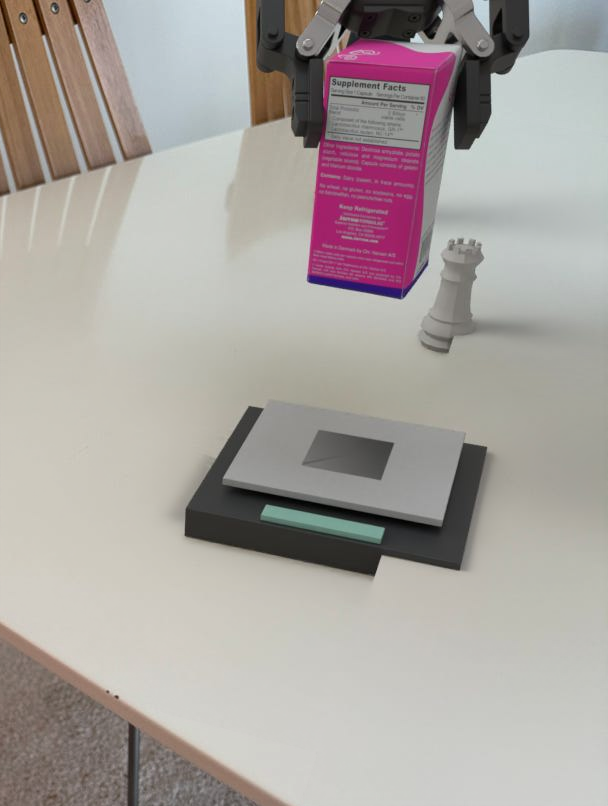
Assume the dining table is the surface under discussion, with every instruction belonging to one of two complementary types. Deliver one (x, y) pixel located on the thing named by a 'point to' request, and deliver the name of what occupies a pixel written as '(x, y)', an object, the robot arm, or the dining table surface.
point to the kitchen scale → (339, 489)
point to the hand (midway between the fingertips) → (390, 140)
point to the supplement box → (381, 164)
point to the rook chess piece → (452, 297)
